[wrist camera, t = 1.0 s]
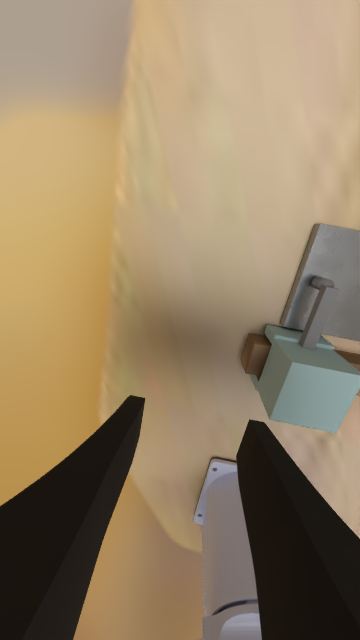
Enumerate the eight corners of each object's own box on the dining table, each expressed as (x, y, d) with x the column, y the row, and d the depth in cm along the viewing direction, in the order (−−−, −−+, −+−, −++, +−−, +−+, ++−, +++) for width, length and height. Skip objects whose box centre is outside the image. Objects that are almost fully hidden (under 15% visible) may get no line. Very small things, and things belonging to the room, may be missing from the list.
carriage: (298, 384, 19) (334, 436, 14) (250, 375, 19) (268, 422, 14) (342, 280, 16) (408, 298, 11) (285, 269, 16) (324, 282, 11)
